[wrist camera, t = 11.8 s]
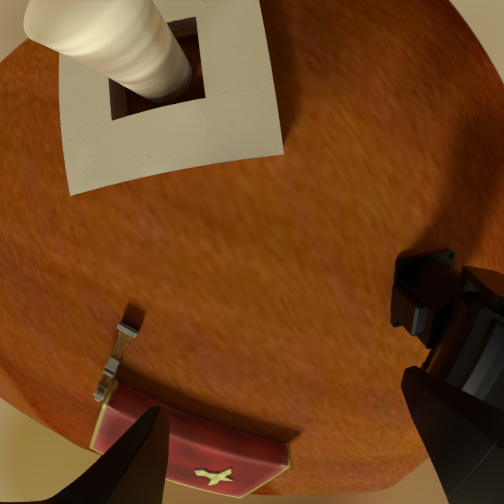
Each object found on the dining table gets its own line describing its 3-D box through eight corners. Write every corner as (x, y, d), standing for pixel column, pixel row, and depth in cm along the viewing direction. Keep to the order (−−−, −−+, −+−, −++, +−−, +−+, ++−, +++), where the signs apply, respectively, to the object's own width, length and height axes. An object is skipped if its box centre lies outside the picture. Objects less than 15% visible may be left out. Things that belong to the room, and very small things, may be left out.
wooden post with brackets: (97, 381, 24) (86, 399, 19) (126, 315, 25) (117, 324, 21) (113, 389, 24) (104, 409, 20) (143, 324, 25) (136, 335, 21)
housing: (250, -12, 14) (252, -32, 12) (277, 155, 19) (283, 154, 16) (79, 32, 15) (61, 20, 12) (90, 190, 19) (70, 195, 16)
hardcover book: (116, 375, 25) (102, 403, 21) (288, 439, 29) (292, 467, 25) (98, 426, 28) (88, 449, 24) (240, 477, 32) (240, 500, 28)
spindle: (200, 57, 16) (148, -57, 4) (181, 107, 18) (91, 39, 5) (149, 49, 16) (57, -42, 4) (131, 98, 17) (8, 46, 5)
